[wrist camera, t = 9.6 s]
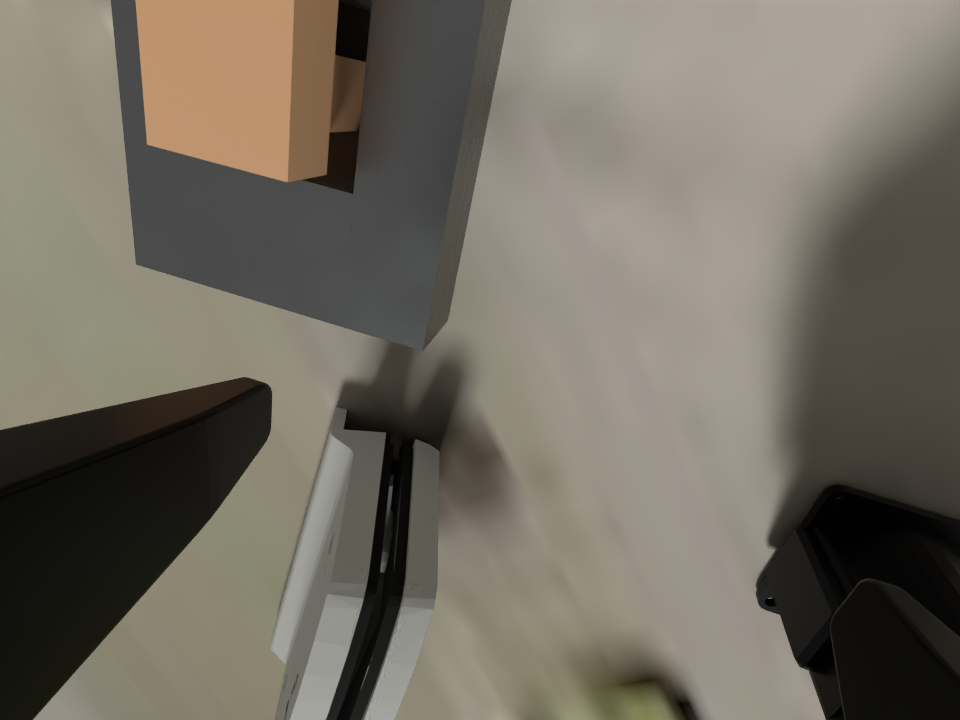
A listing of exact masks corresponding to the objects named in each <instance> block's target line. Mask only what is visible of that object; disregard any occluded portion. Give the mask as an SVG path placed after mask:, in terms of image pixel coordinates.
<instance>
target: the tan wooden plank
mask: <svg viewBox="0 0 960 720" xmlns="http://www.w3.org/2000/svg"><path fill="white" fill-rule="evenodd" d="M135 1H136V13H137V26H138V38H139V50H140V63H141V75H142V88H143V100H144V112H145V125H146V137H147V145H150V146H154V147H158V148H161V149H165V150H169V151H173V152H176V153H180V154H184V155H187V156H191V157H195V158H199V159H202V160H206V161H210V162H213V163H217V164H221V165H225V166H228V167H232V168H236V169H240V170H243V171H247V172H251V173H254V174H258V175H262V176H266V177H269V178H273V179H277V180H280V181H284V182H292V181H298V180H303V179H308V178H313V177H318V176H323V175H327V162H328V148H329V133H330V132H348V131H359V130H360V120H361V109H362V99H363V88H364V78H365V68H366V62H364V61H359V60H355V59H351V58H347V57H342V56H338V55H335V46H336V31H337V17H338V2H339V0H135Z"/></svg>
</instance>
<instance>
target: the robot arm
mask: <svg viewBox="0 0 960 720" xmlns="http://www.w3.org/2000/svg"><path fill="white" fill-rule="evenodd" d="M271 413H272V390H271V388H270V386H269V385H268V384H266V383H263V382H260V381H257V380H254V379H251V378H246V377H243V378H238V379H233V380H229V381H224V382H220V383H215V384H210V385H206V386H201V387H197V388H192V389H187V390H183V391H178V392H173V393H169V394H164V395H160V396H155V397H150V398H146V399H141V400H137V401H132V402H127V403H123V404H118V405H114V406H109V407H104V408H100V409H95V410H91V411H86V412H81V413H77V414H72V415H67V416H63V417H58V418H54V419H49V420H44V421H40V422H35V423H31V424H26V425H21V426H17V427H12V428H8V429H3V430H0V720H33V719H34V718H35V717H36V716H37V714H38V713H39V712H40V711H41V710H42V709H43V708H44V706H45V705H46V704H47V703H48V702H49V701H50V700H51V699H52V697H53V696H54V695H55V694H56V693H57V692H58V691H59V690H60V688H61V687H62V686H63V685H64V684H65V683H66V682H67V681H68V679H69V678H70V677H71V676H72V675H73V674H74V673H75V671H76V670H77V669H78V668H79V667H80V666H81V665H82V664H83V662H84V661H85V660H86V659H87V658H88V657H89V656H90V655H91V653H92V652H93V651H94V650H95V649H96V648H97V647H98V646H99V644H100V643H101V642H102V641H103V640H104V639H105V638H106V636H107V635H108V634H109V633H110V632H111V631H112V630H113V629H114V627H115V626H116V625H117V624H118V623H119V622H120V621H121V620H122V618H123V617H124V616H125V615H126V614H127V613H128V612H129V611H130V609H131V608H132V607H133V606H134V605H135V604H136V603H137V601H138V600H139V599H140V598H141V597H142V596H143V595H144V594H145V592H146V591H147V590H148V589H149V588H150V587H151V586H152V585H153V583H154V582H155V581H156V580H157V579H158V578H159V577H160V576H161V574H162V573H163V572H164V571H165V570H166V569H167V568H168V567H169V565H170V564H171V563H172V562H173V561H174V560H175V559H176V557H177V556H178V555H179V554H180V553H181V552H182V551H183V550H184V548H185V547H186V546H187V545H188V544H189V543H190V542H191V541H192V539H193V538H194V537H195V536H196V535H197V534H198V533H199V532H200V530H201V529H202V528H203V527H204V526H205V524H206V523H207V522H208V521H209V520H210V518H211V517H212V516H213V515H214V513H215V512H216V511H217V509H218V508H219V507H220V505H221V504H222V503H223V501H224V500H225V498H226V497H227V496H228V494H229V493H230V491H231V490H232V489H233V487H234V486H235V484H236V483H237V482H238V480H239V479H240V477H241V476H242V475H243V473H244V472H245V470H246V469H247V468H248V466H249V465H250V463H251V462H252V461H253V459H254V458H255V456H256V455H257V454H258V452H259V451H260V449H261V448H262V447H263V445H264V444H265V442H266V441H267V439H268V436H269V434H270V430H271ZM839 497H844V498H843V499H842V500H841V501H834V500H835V499H836V498H839ZM766 574H767V576H766V577H765V579H764V580H763V582H762V583H761V585H760V586H759V588H758V589H757V591H756V597H757V600H758V604H759V606H760V607H761V608H763V609H765V610H767V611H770V612H773V613H776V614H779V615H780V616H781V619H782V622H783V625H784V628H785V631H786V634H787V637H788V640H789V643H790V646H791V649H792V652H793V655H794V658H795V660H796V661H797V663H798V665H799V667H801V668H804V669H807V670H809V673H810V675H811V678H812V681H813V684H814V687H815V690H816V692H817V695H818V698H819V701H820V704H821V707H822V709H823V712H824V715H825V718H826V720H960V521H959V520H956V519H952V518H949V517H946V516H943V515H939V514H936V513H933V512H929V511H926V510H923V509H920V508H916V507H913V506H910V505H906V504H903V503H900V502H897V501H893V500H890V499H887V498H883V497H880V496H877V495H874V494H870V493H867V492H864V491H860V490H857V489H854V488H851V487H847V486H844V485H832V486H830V487H828V488H826V489H825V490H824V491H823V492H822V494H821V495H820V497H819V498H818V500H817V501H816V503H815V504H814V506H813V507H812V509H811V510H810V512H809V513H808V515H807V516H806V518H805V519H804V521H803V522H802V524H801V525H800V527H798V528H797V529H795V530H794V531H793V532H792V534H791V535H790V537H789V538H788V540H787V541H786V543H785V544H784V546H783V547H782V549H781V550H780V552H779V553H778V555H777V556H776V558H775V559H774V561H773V562H772V564H771V565H770V567H769V568H768V570H767V572H766ZM770 597H771V599H767V598H770Z"/></svg>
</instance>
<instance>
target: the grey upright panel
mask: <svg viewBox="0 0 960 720" xmlns="http://www.w3.org/2000/svg"><path fill="white" fill-rule="evenodd" d="M346 414H347V410H346V409H343V408H339V407H336V410H335V413H334V417H333V420H332V424H331V427H330V431H329V434H328V438H327V441H326V445H325V449H324V452H323V456H322V459H321V463H320V466H319V470H318V473H317V477H316V480H315V484H314V488H313V491H312V495H311V498H310V502H309V505H308V509H307V512H306V516H305V520H304V523H303V527H302V530H301V534H300V537H299V541H298V544H297V548H296V551H295V555H294V559H293V562H292V566H291V569H290V573H289V576H288V580H287V583H286V587H285V590H284V594H283V598H282V601H281V605H280V608H279V612H278V615H277V619H276V623H275V627H274V631H273V635H272V639H271V645H270V646H271V649H272V650H273V651H274V652H275V653H276V655H277V656H278V657H279V658H280V659H281V660H282V661H283V662H284V664H285V672H284V677H283V682H282V687H281V692H280V697H279V702H278V706H277V711H276V716H275V720H394V718H395V716H396V714H397V711H398V709H399V707H400V704H401V702H402V699H403V697H404V695H405V692H406V689H407V687H408V684H409V681H410V679H411V676H412V673H413V671H414V668H415V665H416V662H417V659H418V656H419V653H420V650H421V647H422V644H423V641H424V638H425V635H426V631H427V628H428V625H429V622H430V619H431V616H432V613H433V609H434V604H435V599H436V592H437V571H438V512H439V454H440V451H438V450H437V449H435V448H434V447H433V446H431V445H429V444H427V443H424V442H422V441H420V440H417V439H415V442H414V444H413V446H412V448H410V447H405V446H404V448H403V451H402V453H401V456H400V459H399V461H398V464H397V467H396V469H395V472H394V474H393V475H391V466H392V456H393V447H394V444H391V443H386V442H385V438H386V433H385V432H371V431H358V430H344V424H345V419H346Z"/></svg>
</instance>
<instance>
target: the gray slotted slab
mask: <svg viewBox="0 0 960 720" xmlns="http://www.w3.org/2000/svg"><path fill="white" fill-rule="evenodd" d="M338 3H340V4H345V5H349V6H353V7H358V8H362V9H366V10H371V16H370V26H369V37H368V47H367V57H366V68H365V78H364V88H363V99H362V109H361V120H360V130H359V140H358V151H357V161H356V171H355V174H354V173H350V172H347V171H343V170H339V169H335V168H332V167H328V166H327V175H323V176H318V177H313V178H308V179H303V180H298V181H292V182H284V181H280V180H277V179H273V178H269V177H266V176H262V175H258V174H254V173H251V172H247V171H243V170H240V169H236V168H232V167H228V166H225V165H221V164H217V163H213V162H210V161H206V160H202V159H199V158H195V157H191V156H187V155H184V154H180V153H176V152H173V151H169V150H165V149H161V148H158V147H154V146H150V145H147V137H146V125H145V112H144V100H143V88H142V75H141V63H140V50H139V38H138V26H137V13H136V1H135V0H111V6H112V16H113V27H114V37H115V48H116V58H117V69H118V79H119V90H120V100H121V111H122V121H123V131H124V142H125V152H126V163H127V173H128V184H129V194H130V205H131V215H132V226H133V236H134V247H135V257H136V265H140V266H143V267H146V268H150V269H153V270H156V271H160V272H163V273H166V274H169V275H173V276H176V277H179V278H183V279H186V280H189V281H193V282H196V283H199V284H202V285H206V286H209V287H212V288H216V289H219V290H222V291H226V292H229V293H232V294H235V295H239V296H242V297H245V298H249V299H252V300H255V301H258V302H262V303H265V304H268V305H272V306H275V307H278V308H282V309H285V310H288V311H291V312H295V313H298V314H301V315H305V316H308V317H311V318H315V319H318V320H321V321H324V322H328V323H331V324H334V325H338V326H341V327H344V328H348V329H351V330H354V331H357V332H361V333H364V334H367V335H371V336H374V337H377V338H381V339H384V340H387V341H390V342H394V343H397V344H400V345H404V346H407V347H410V348H413V349H417V350H420V351H423V350H424V349H425V348H426V346H427V345H428V344H429V343H430V342H431V340H432V339H433V338H434V337H435V335H436V334H437V333H438V332H439V331H440V329H441V328H442V327H443V326H444V325H445V323H446V322H447V321H448V316H449V311H450V306H451V301H452V296H453V291H454V286H455V281H456V276H457V271H458V266H459V261H460V256H461V251H462V246H463V241H464V236H465V231H466V226H467V221H468V216H469V211H470V206H471V201H472V196H473V191H474V186H475V181H476V176H477V171H478V166H479V161H480V156H481V151H482V146H483V141H484V136H485V131H486V126H487V121H488V116H489V111H490V105H491V100H492V95H493V90H494V85H495V80H496V75H497V70H498V65H499V60H500V55H501V50H502V45H503V40H504V35H505V30H506V25H507V20H508V15H509V10H510V5H511V0H339V2H338Z"/></svg>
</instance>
